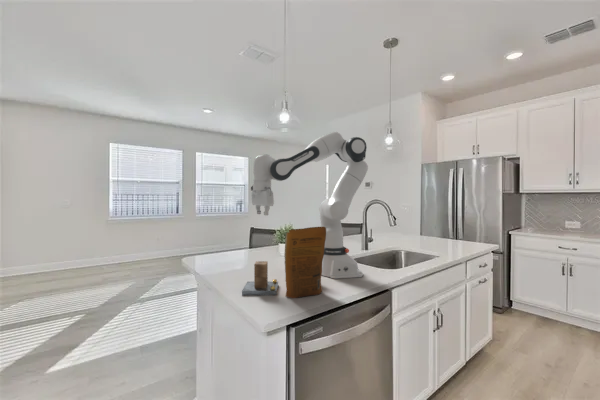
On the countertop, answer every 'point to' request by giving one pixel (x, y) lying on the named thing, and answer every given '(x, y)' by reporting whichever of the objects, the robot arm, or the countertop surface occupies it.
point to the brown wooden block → (260, 274)
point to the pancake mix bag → (304, 261)
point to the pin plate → (260, 289)
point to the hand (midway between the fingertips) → (262, 214)
